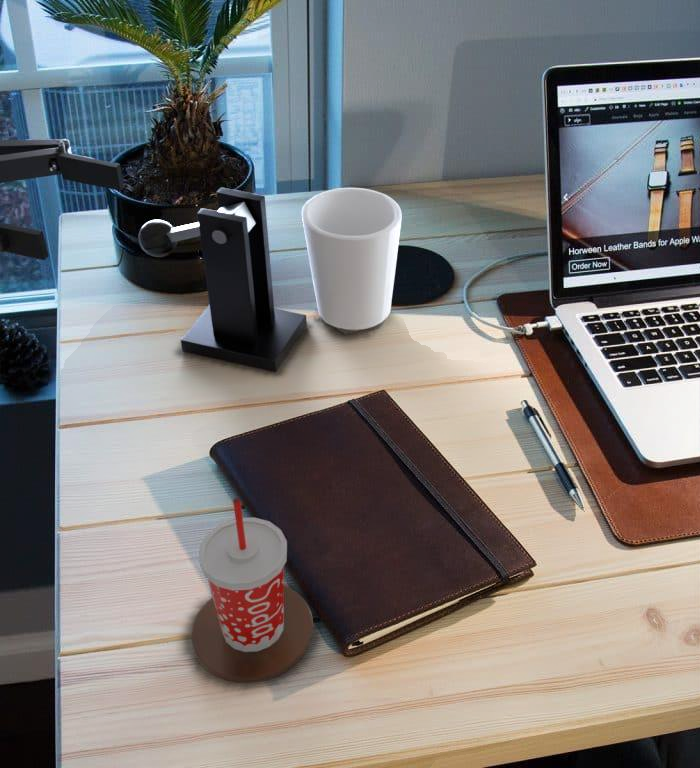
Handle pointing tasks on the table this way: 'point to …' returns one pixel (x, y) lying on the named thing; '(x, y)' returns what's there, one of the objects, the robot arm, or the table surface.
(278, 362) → the switch bracket
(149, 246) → the switch lever
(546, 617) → the table surface
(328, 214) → the cup
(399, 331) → the table surface
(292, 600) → the coaster
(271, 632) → the beverage cup
